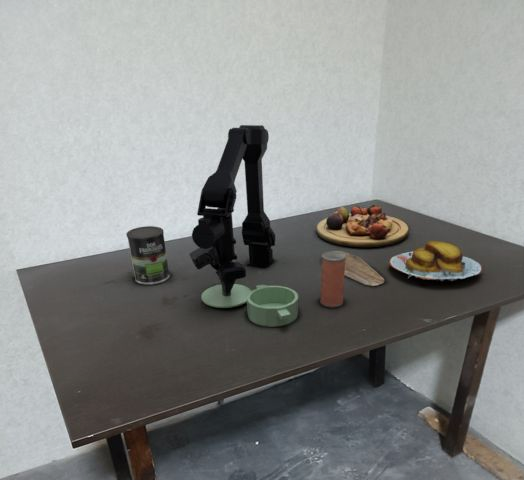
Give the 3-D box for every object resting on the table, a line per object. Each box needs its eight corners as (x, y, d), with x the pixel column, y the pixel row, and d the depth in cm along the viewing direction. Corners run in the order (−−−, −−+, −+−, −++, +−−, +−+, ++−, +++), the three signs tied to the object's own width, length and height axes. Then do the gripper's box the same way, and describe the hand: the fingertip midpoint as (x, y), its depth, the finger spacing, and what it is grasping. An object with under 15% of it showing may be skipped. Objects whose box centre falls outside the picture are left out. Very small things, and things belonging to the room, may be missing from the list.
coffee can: (174, 280, 142) (168, 233, 135) (140, 287, 138) (131, 240, 131) (164, 268, 150) (157, 223, 142) (131, 275, 146) (122, 229, 138)
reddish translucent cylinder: (317, 305, 125) (318, 258, 118) (324, 295, 130) (326, 249, 123) (338, 309, 123) (341, 261, 116) (346, 299, 128) (349, 253, 121)
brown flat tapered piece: (396, 279, 137) (397, 275, 136) (369, 290, 133) (369, 287, 133) (339, 250, 156) (339, 247, 155) (314, 260, 152) (313, 256, 151)
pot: (261, 336, 113) (260, 317, 111) (238, 303, 128) (237, 286, 125) (310, 325, 117) (310, 307, 114) (283, 295, 131) (282, 278, 128)
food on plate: (372, 274, 141) (374, 252, 137) (414, 249, 156) (416, 229, 152) (457, 298, 126) (462, 274, 122) (494, 268, 141) (499, 247, 137)
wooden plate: (418, 247, 157) (422, 222, 152) (320, 250, 158) (321, 225, 153) (396, 217, 184) (399, 195, 179) (313, 220, 185) (313, 198, 180)
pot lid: (208, 313, 123) (206, 294, 120) (196, 292, 134) (194, 273, 131) (259, 304, 126) (258, 284, 123) (243, 283, 137) (242, 265, 134)
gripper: (182, 228, 126) (189, 283, 134) (198, 252, 111) (205, 312, 119) (223, 222, 129) (228, 276, 137) (245, 244, 114) (248, 304, 122)
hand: (226, 291), depth 129 cm, fingers closed on pot lid, 2 cm apart
